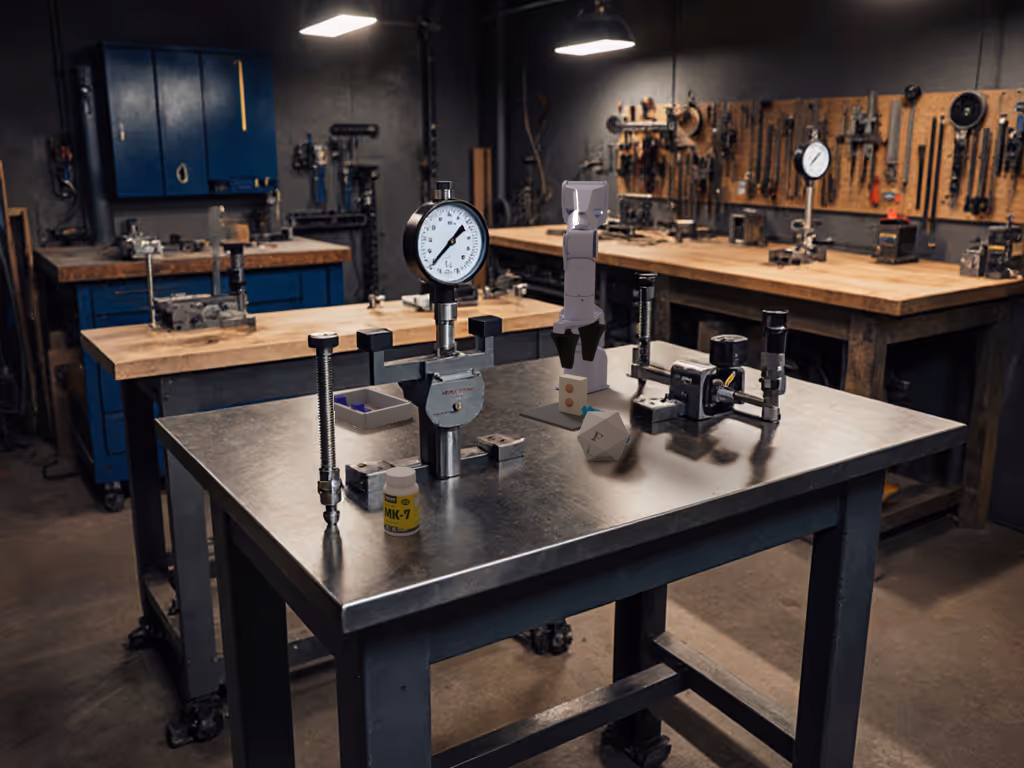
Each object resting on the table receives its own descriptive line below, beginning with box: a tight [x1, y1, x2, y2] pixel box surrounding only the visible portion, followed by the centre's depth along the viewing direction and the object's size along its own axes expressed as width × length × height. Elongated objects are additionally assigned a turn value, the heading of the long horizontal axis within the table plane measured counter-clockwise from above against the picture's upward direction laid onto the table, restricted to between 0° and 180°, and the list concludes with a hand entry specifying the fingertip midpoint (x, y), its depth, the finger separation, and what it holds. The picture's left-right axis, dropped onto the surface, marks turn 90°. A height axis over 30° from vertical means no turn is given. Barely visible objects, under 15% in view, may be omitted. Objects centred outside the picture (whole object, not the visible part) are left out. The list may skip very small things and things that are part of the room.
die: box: [577, 410, 630, 462], centre depth 145 cm, size 8×9×10 cm
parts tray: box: [333, 387, 414, 431], centre depth 169 cm, size 12×16×3 cm
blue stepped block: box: [334, 395, 373, 413], centre depth 167 cm, size 8×4×4 cm, turn 42°
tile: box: [558, 374, 588, 416], centre depth 170 cm, size 2×5×7 cm, turn 52°
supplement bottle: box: [382, 466, 420, 537], centre depth 117 cm, size 5×5×8 cm
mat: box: [518, 401, 607, 432], centre depth 170 cm, size 13×14×1 cm
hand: (577, 364), depth 169 cm, fingers open, 7 cm apart
